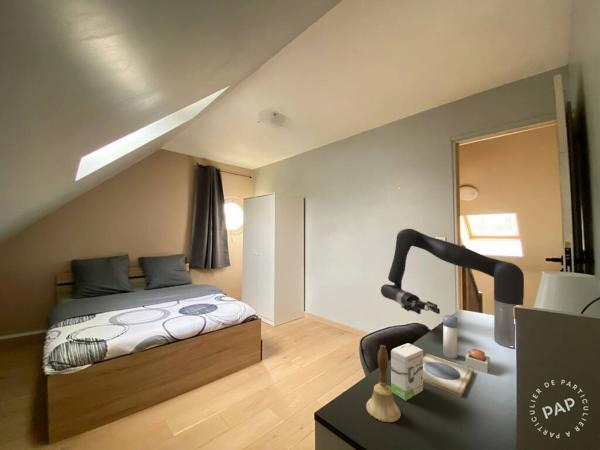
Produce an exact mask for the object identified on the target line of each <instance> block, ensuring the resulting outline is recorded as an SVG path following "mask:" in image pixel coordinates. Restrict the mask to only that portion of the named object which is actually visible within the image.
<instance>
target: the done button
mask: <svg viewBox="0 0 600 450" xmlns="http://www.w3.org/2000/svg"><path fill="white" fill-rule="evenodd" d="M469 351H470V355H471V357H472V358H474V359H477V360H485V356H486V353H485V351H483V350H481V349H477V348H471V349H470V350H469Z"/></svg>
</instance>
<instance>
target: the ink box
mask: <svg viewBox="0 0 600 450" xmlns="http://www.w3.org/2000/svg"><path fill="white" fill-rule="evenodd" d="M423 357H424V350H423V349H422V348H419V347H418V346H416V345H413V344H411V343H408V342H407V343H405V344H402V345H399V346H397V347H394V348H392V350H390V362H391V363H390V365H391V367H390V377H391V378H390V381H391V382H390V388H391V389H392V394H394V395H395V396H398V397H399V398H401V399H402V400H404V401H406V402H407V401H408V400H410V399H412V398H413V397H415V396H416V395H418V394H419V393H421V392H422V391H424V381H423Z"/></svg>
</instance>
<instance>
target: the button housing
mask: <svg viewBox="0 0 600 450" xmlns="http://www.w3.org/2000/svg"><path fill="white" fill-rule="evenodd" d="M464 359H465V361H464V363H465V364H464V366H465V367H468V368H471V369H473V370H477V371H479V372H483V373H485V374H488V372H489V371H490V367H491V356H487V355H485V360H477V359H474V358H472V357H471V355H470V350H468V352H467V354H465V357H464Z"/></svg>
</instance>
